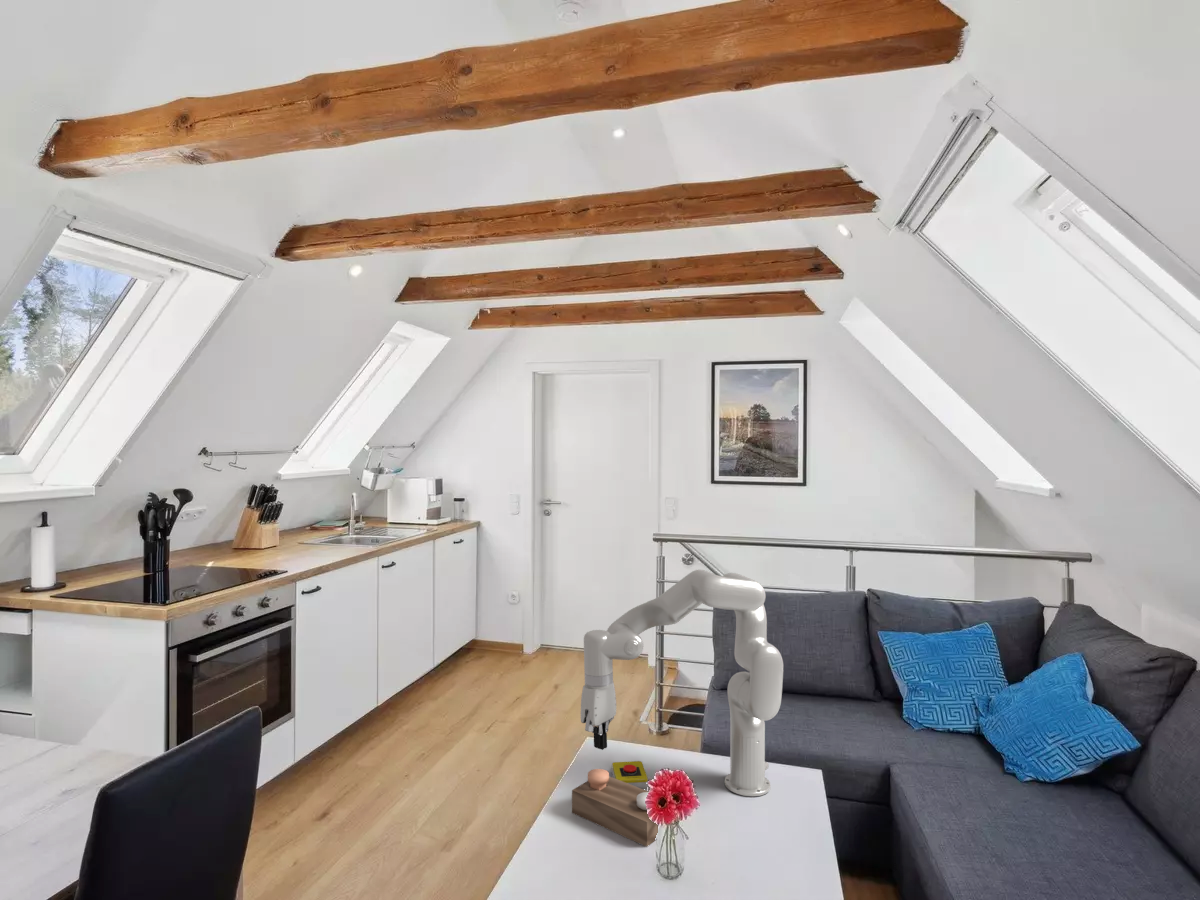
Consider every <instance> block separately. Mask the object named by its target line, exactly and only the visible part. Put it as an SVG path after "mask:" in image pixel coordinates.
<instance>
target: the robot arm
mask: <svg viewBox="0 0 1200 900" xmlns="http://www.w3.org/2000/svg"><path fill="white" fill-rule="evenodd" d="M766 596H767V595H766V591H765V589H764V587H763V585H762V584H761V583H759V582H758V581H756V580H755V579H751V578H749V577H747V576H745V575H742V574H739V573H736V572H727V573H725V574H723V575H717V574H714V573H712V572H711V571H708V570H704V569H695V570H692V571H690V572H689V573H688V574H687V575H685V576H684V577H682V578H681V579H680V580H678V581H677V582H676V583H675V584H673V585H672V586H671V587H669V588H668V589H667V590H666V591H664V592H663V593H661V594H660V595H659V596H657V597H655V598H653V599H650V600H648V601H647V602H643V603H640V604H639V605H637V606H635V607H633V608H631V609H629V610H628V611H626V612H625V613H623V615H621V616H619V617H618V618H617V619H616V620H614V621H613V622H612V623H611V624H610V625H609V626H608V628H607V629H606V630H603V629H593V630H590V631H587V632H585V634H584V635H583V661H584V662H583V667H584V668H583V669H584V685H583V687H582V692H581V698H580V722H581V723H582V724H585V728H584V730H585V732H591V733H592V734H593V748H596V749H599V750H601V751H603V750H605V749H607V747H608V737H607V736H608V734H607V733H608V731H609V725H610V723H611V722H612V721H613V720H614V719H615V716H616V714H617V696H616V695H617V694H616V688H615V684H614V668H613V662H614V661H613V660H621V661H631V660H634V659H637V658H639V656H640V655H641V654H642V652H643V651H644V642H643V639H642V637H641V636H640V634H642V633H643V632H645V631H647V630H650V629H652V628H654V627H660V626H670V625H675V624H678V623H680V622H681V620H683V619H684V618H685V617H686V616H688V615H690V613H692V612H693V611H694V610H696V609H697V608H699V606H701V605H702V604H703V605H704V606H706V607H711V608H715V609H721V610H726V611H727V610H728V611H729V610H730V611H734V615H735V622H736V623H735V635H734V637H735V638H734V640H735V641H734V650H733V651H734V653H733V654H734V659H735V662H736V663H737V664H738V665H739V666H740V667H741V668H743V669H744V670H746V671H739V672H736V673H734V674H733V675H731V678H730V679H729V681H728V684H727V700H728V705H729V715H730V717H729V718H730V720H729V722H730V728H729V729H730V730H729V731H730V736H729V737H730V738H729V739H730V740H729V741H730V743H729V744H730V748H729V749H730V751H729V752H730V754H729V757H730V760H729V761H730V763H729V764H730V765H729V767H730V770H729V774H727V775H726V776H725V778H724V786H725V787H726V788H727V790H729V791H730V792H732V793H734V794H736V795H738V796H739V795H740V796H743V797H761V796H764V795H766V794H768V793H769V791H770V790H771V782H770V781H769V779H768V778H767V777H766V776H765V775H766V773H765V772H766V770H768V769H769V767H770V765H769V763H768V762H767V761H766V760H765V759H766V739H765V738H766V734H765V733H766V721H770V720H771V719H773V718H775V716H777V714H778V712H779V710H780V708H781V704H782V696H783V695H782V694H783V683H784V682H783V680H784V660H783V657H782V654H781V652H780V651H779V649H778V648H777V647H775V646H774V645H773V644H772V643H769V642H768V638H767V637H768V636H767V635H768V634H767V633H768V632H767V631H768V629H767V626H768V623H767V622H768V619H767V618H768V617H767V611H766V608H765V605H764V603H765V602H766Z"/></svg>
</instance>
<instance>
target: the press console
mask: <svg viewBox="0 0 1200 900" xmlns="http://www.w3.org/2000/svg"><path fill="white" fill-rule="evenodd" d="M643 792H649V791H646V790H643V789H641V788H638V787H636V786H633V785H630V784H628V783H625V782H623V781H620V780H618V779H615V778H613V776H610V775H609V781H608V783H606V787H605V788H603V789H601V790H600V791H599V790H596V789H594V788H591V787H590V783H589V782H588V780H586V781H585V782H583V783H581V784H579V785H578V786H576V787H574V788H573V789H571V814H573V815H576V816H578V817H580V818H582V819H584V820H587V821H589V822H590V823H593V824H596V825H597V826H600V827H602V828H604V829H606V830H609V831H611V832H613V833H615V834H618V835H620V836H622V837H623V838H626V839H628V840H631V841H633V842H635V843H638V844H639V843H640V845H641V844H642V846H644V847H646V846H648V845H649V846H650V845H652V844H653V843H655V842H656V840H655V838H656V835H657V833H658V825H657V824H656V823H654V822H652V821H651V820H650V819H649V817H648V814H647V810H643V809H641V808H639V807H638V806H637V795H638V794H640V793H643ZM649 846H648V847H649Z"/></svg>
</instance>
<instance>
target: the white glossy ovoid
mask: <svg viewBox="0 0 1200 900" xmlns="http://www.w3.org/2000/svg"><path fill="white" fill-rule="evenodd" d="M649 792H650V791H648V792H643V793H640V794H638V795H637V806H638V807H639V808H641V809H643V810H647V809H646V804H645V799H646V797H647V795H648V793H649Z"/></svg>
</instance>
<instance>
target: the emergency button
mask: <svg viewBox="0 0 1200 900" xmlns="http://www.w3.org/2000/svg"><path fill="white" fill-rule="evenodd" d="M611 766H612V767H611V768H612V772H611V775H612V774H613V776H612V778H615V779H618V780H620V781H623V782H625V783H628V784H630V785H633V786H636V787H638V788H641V789H643V790H644V789H645V790H646V791H647V787H649V785H648V786H647V784H646V782H647V781H648V782H649V779H648V775H647V772H646V769H645V766H644V764H643V761H640V760H635V761H632V760H631V761H615V762H612V765H611Z"/></svg>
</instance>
